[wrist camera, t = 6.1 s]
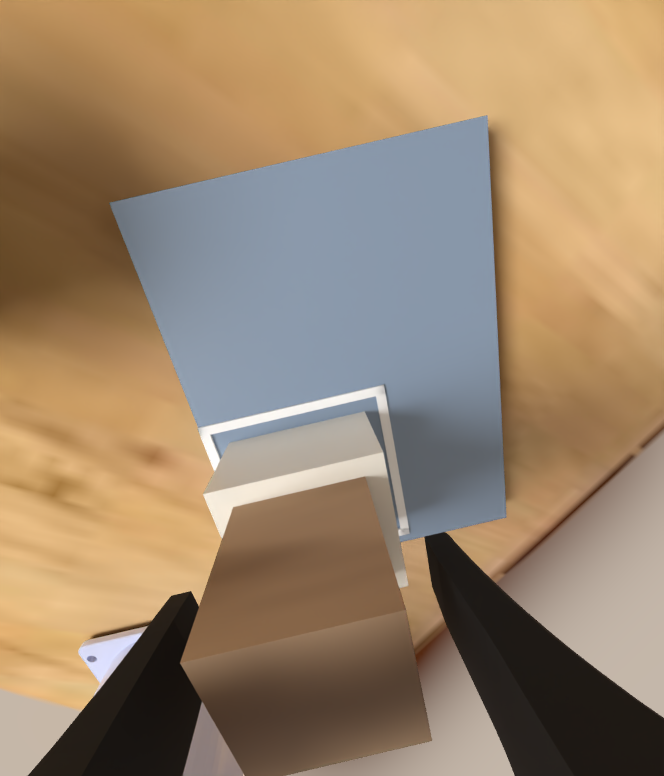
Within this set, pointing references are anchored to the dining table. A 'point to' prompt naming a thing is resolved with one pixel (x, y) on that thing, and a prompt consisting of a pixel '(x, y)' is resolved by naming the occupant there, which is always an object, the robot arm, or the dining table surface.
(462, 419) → the board
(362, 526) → the walnut block
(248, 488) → the cream base block
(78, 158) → the dining table surface
